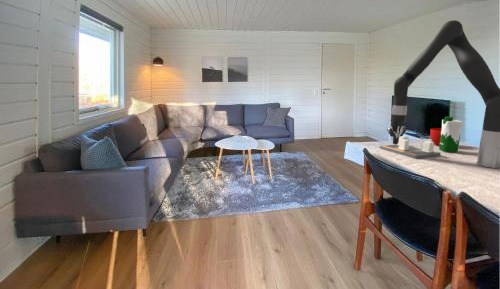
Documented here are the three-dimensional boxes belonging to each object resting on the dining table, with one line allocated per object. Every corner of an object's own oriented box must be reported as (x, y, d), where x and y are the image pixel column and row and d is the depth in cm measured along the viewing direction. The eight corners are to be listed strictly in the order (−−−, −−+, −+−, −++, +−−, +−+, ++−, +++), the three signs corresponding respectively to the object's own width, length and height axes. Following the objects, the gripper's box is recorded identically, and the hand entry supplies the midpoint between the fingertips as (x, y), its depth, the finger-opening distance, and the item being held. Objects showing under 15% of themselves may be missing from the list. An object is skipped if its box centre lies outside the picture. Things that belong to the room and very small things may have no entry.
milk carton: (436, 149, 176) (441, 116, 172) (453, 149, 174) (458, 116, 170) (442, 152, 168) (447, 117, 164) (460, 153, 166) (465, 118, 162)
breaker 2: (433, 152, 161) (434, 142, 160) (428, 152, 160) (429, 142, 159) (426, 150, 165) (427, 140, 164) (421, 151, 164) (422, 141, 163)
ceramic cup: (464, 147, 179) (466, 131, 177) (434, 147, 181) (436, 131, 179) (452, 143, 191) (454, 128, 189) (425, 142, 193) (426, 128, 191)
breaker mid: (408, 149, 167) (409, 140, 166) (404, 150, 166) (405, 140, 165) (402, 148, 171) (403, 139, 170) (397, 148, 170) (398, 139, 169)
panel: (440, 155, 161) (440, 152, 161) (415, 158, 155) (416, 155, 155) (402, 145, 185) (402, 143, 185) (379, 148, 179) (379, 145, 179)
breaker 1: (406, 145, 178) (407, 136, 177) (402, 146, 177) (403, 137, 176) (400, 144, 182) (401, 135, 181) (396, 144, 181) (397, 135, 180)
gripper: (394, 114, 157) (391, 146, 160) (413, 113, 161) (409, 144, 165) (384, 113, 163) (381, 143, 167) (402, 112, 168) (399, 141, 172)
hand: (395, 143), depth 166 cm, fingers closed
